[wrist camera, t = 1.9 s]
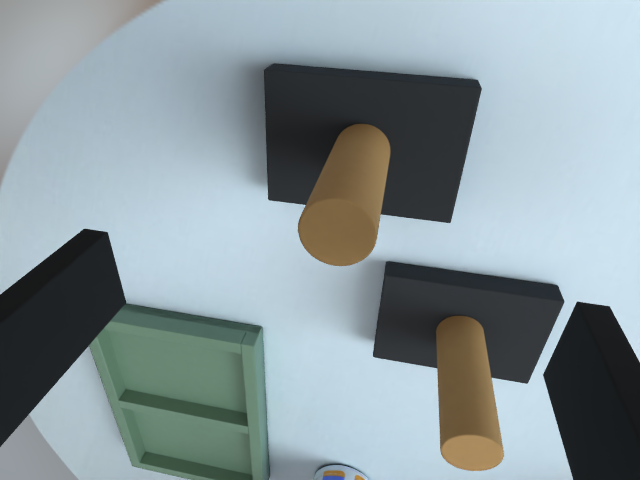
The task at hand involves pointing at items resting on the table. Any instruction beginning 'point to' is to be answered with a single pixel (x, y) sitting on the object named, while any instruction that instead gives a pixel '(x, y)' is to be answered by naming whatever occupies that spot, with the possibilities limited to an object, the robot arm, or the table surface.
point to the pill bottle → (339, 473)
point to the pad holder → (186, 393)
